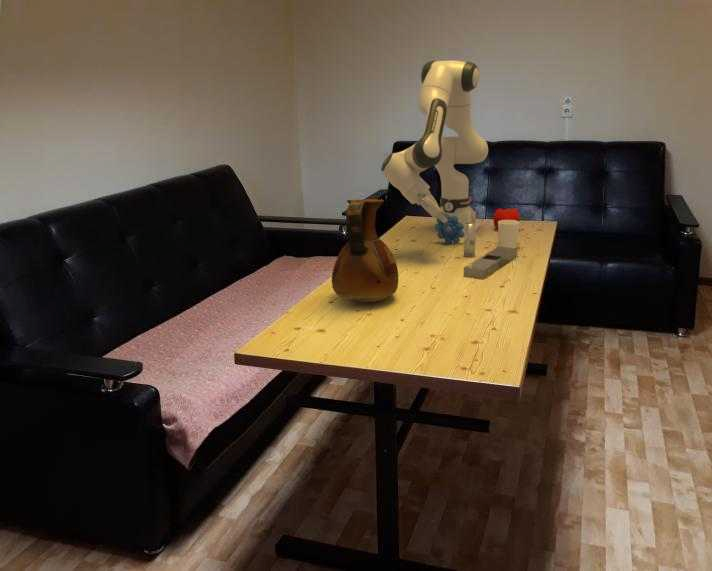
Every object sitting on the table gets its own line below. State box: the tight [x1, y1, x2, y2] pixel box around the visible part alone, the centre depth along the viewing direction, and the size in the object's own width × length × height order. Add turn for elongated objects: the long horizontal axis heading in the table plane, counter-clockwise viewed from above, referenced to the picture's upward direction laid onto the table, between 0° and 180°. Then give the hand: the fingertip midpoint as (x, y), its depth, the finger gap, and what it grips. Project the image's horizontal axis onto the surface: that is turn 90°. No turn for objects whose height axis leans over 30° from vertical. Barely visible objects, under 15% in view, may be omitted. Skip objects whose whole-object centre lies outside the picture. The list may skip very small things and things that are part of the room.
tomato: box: [492, 208, 521, 230], centre depth 288 cm, size 11×12×9 cm
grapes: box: [433, 213, 464, 245], centre depth 265 cm, size 12×7×12 cm, turn 79°
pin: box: [463, 222, 477, 258], centre depth 248 cm, size 4×4×12 cm
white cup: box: [497, 220, 520, 249], centre depth 259 cm, size 8×8×10 cm
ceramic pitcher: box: [331, 198, 399, 303], centre depth 201 cm, size 20×20×30 cm
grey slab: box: [463, 246, 518, 280], centre depth 236 cm, size 32×7×3 cm, turn 148°
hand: (444, 219), depth 246 cm, fingers open, 8 cm apart
